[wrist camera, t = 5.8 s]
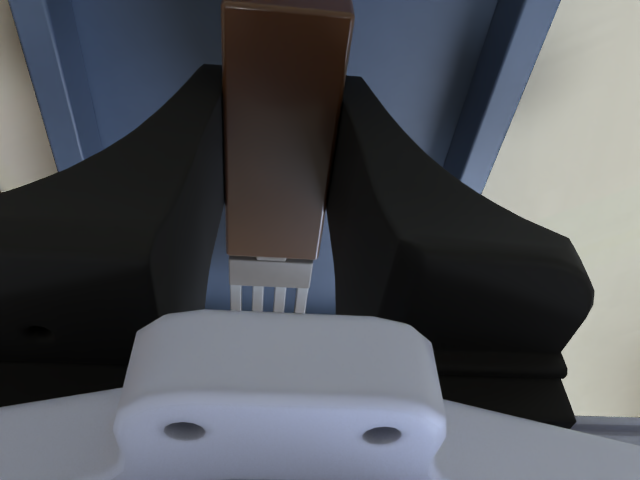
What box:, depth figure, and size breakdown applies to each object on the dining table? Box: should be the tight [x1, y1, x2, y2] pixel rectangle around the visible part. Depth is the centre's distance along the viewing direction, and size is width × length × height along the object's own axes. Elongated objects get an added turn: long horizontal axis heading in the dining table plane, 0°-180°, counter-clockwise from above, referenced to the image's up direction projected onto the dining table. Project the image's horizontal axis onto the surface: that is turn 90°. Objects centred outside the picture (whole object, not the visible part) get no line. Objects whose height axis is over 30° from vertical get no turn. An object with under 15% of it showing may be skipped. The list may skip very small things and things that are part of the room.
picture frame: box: [8, 0, 561, 315], centre depth 16 cm, size 18×12×2 cm, turn 174°
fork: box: [220, 0, 355, 314], centre depth 14 cm, size 13×2×3 cm, turn 174°
